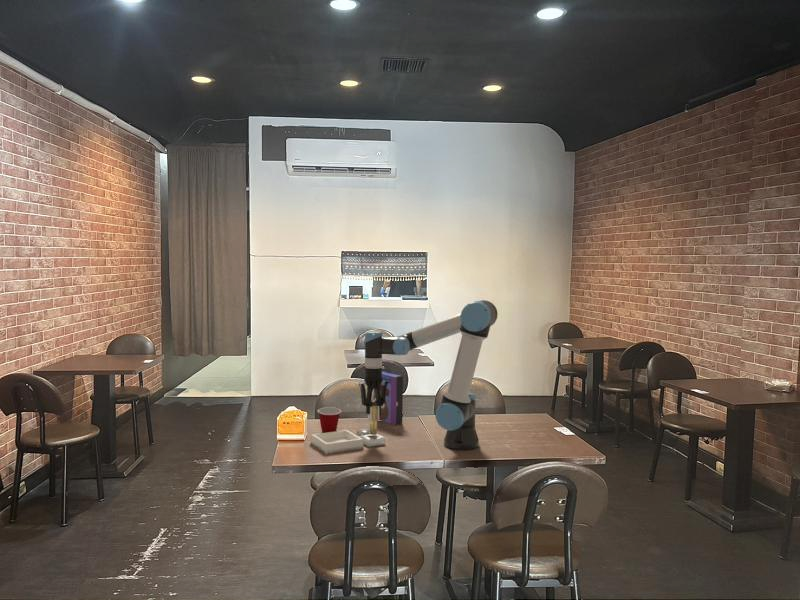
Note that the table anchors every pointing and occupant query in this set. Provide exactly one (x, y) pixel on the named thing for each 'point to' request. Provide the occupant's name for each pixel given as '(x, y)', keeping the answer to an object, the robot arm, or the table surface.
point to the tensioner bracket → (370, 438)
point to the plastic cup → (329, 418)
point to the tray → (336, 441)
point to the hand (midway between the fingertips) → (373, 420)
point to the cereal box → (392, 399)
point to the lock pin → (374, 418)
